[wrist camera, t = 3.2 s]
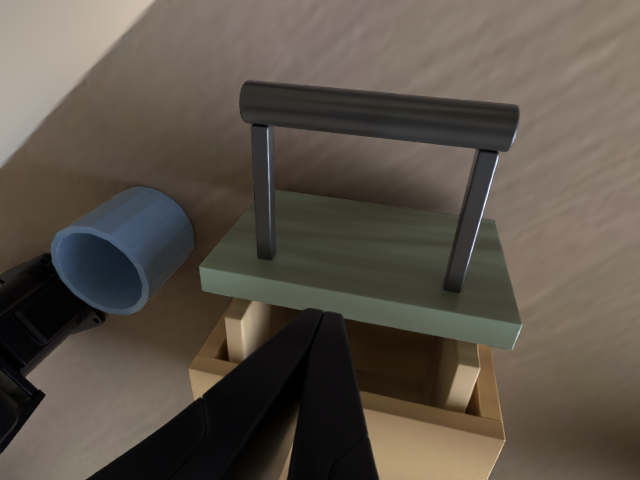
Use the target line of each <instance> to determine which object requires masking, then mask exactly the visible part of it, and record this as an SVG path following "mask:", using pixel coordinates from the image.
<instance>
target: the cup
mask: <svg viewBox="0 0 640 480" xmlns="http://www.w3.org/2000/svg"><path fill="white" fill-rule="evenodd" d="M194 241H195V238H194V231H193V227H192V224H191V222H190V220H189V218H188V217H187V215H186V213H185V212H184V211H183V209H182V208H181V207H180V206H179V205H178V204H177V203H176V202H175V201H174V200H173V199H171V198H170V197H169V196H167V195H165V194H164V193H162V192H160V191H158V190H155V189H152V188H148V187H141V186H137V187H130V188H127V189H125V190H123V191H122V192H120V193H118V194H116V195H114V196H113V197H111V198H110V199H108V200H106V201H105V202H103V203H102V204H100V205H99V206H97V207H96V208H94V209H92V210H91V211H89V212H88V213H86V214H85V215H83V216H82V217H80V218H78V219H77V220H75V221H74V222H72V223H71V224H69V225H68V226H66V227H65V228H63V229H61V230H60V231H58V232H57V233H56V235H55V237H54V239H53V241H52V243H51V246H50V247H51V257H52V263H53V265H54V267H55V269H56V271H57V273H58V275H59V277H60V278H61V280H62V281H63V282H64V283H65V284H66V286H67V287H68V288H69V289H70V290H71V291H72V292H73V293H74V294H75V295H76V296H77V297H79V298H80V299H82V300H83V301H84V302H86V303H87V304H89V305H90V306H92V307H94V308H97V309H99V310H101V311H104V312H106V313H109V314H118V315H128V314H131V313H134V312H137V311H140V310H141V309H142V308H143V307H144V306H145V304H146V303H147V302H148V301H149V300H150V299H151V298H152V297H153V296H154V295H155V294H156V292H157V291H158V290H159V289H160V288H161V287H162V286H163V285H164V284H165V283H166V282H167V280H168V279H169V278H170V277H171V276H172V275H173V274H174V273H175V272H176V271H177V270H178V268H179V267H180V266H181V265H182V264H183V263H184V262H185V260H186V259H187V258H188V257H189V256H190V254H191V253H192V250H193V248H194Z"/></svg>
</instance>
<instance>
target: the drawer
mask: <svg viewBox="0 0 640 480" xmlns="http://www.w3.org/2000/svg"><path fill="white" fill-rule="evenodd" d="M239 107H240V114H241V117H242V119H243V121H244V122H246V123H250V124H253V125H252V126H251V139H252V160H253V180H254V202H253V203H252V204H251V205H250V206H249V208H248V209H247V210H246V211H245V212H244V214H243V215H242V216H241V217H240V218H239V219H238V221H237V222H236V223H235V224H234V225H233V226H232V228H231V229H230V230H229V231H228V232H227V234H226V235H225V236H224V237H223V238H222V239H221V241H220V242H219V243H218V244H217V245H216V246H215V248H214V249H213V250H212V251H211V252H210V254H209V255H208V256H207V257H206V258H205V259H204V261H203V262H202V263H201V264H200V265H199V274H200V281H201V288H202V291H204V292H209V293H214V294H220V295H225V296H230V297H235V298H236V299H235V301H234V303H233V304H232V306H231V307H230V309H229V310H228V312H227V313H226V315H225V317H224V320H225V329H226V338H227V347H228V356H229V362H232V363H237V364H240V363H241V362H242V361H243V360H245V359H246V358H247V357H248V356H249V355H251V354H252V353H253V352H254V351H255V350H257V349H258V348H259V347H260V346H261V345H263V344H264V343H265V342H266V341H267V340H269V339H270V338H271V337H272V336H273V335H275V334H276V333H277V332H278V331H279V330H281V329H282V328H283V327H284V326H285V325H287V324H288V323H289V322H290V321H291V320H293V319H294V318H295V317H296V316H297V315H299V314H300V313H301V312H302V311H303V310H305V309H306V308H315V309H321V310H323V311H324V313H325V312H326V311H331V312H336V313H341V314H342V315H343V318H344V322H345V327H346V332H347V336H348V341H349V346H350V350H351V355H352V360H353V364H354V369H355V373H356V378H357V383H358V387H359V391H364V392H368V393H373V394H377V395H382V396H386V397H391V398H395V399H400V400H404V401H409V402H413V403H418V404H423V405H427V406H432V407H436V408H441V409H445V410H450V411H454V412H459V413H463V414H464V413H465V410H466V407H467V404H468V402H469V399H470V396H471V393H472V391H473V388H474V385H475V382H476V379H477V377H478V374H479V371H480V361H479V353H478V345H477V344H482V345H487V346H492V347H497V348H503V349H508V350H512V349H513V347H514V345H515V342H516V340H517V337H518V335H519V332H520V330H521V327H522V321H521V317H520V313H519V310H518V306H517V302H516V299H515V295H514V291H513V287H512V284H511V280H510V276H509V272H508V269H507V265H506V261H505V257H504V254H503V250H502V246H501V242H500V239H499V235H498V231H497V228H496V224H495V220H490V219H483V218H482V215H483V211H484V208H485V204H486V201H487V197H488V194H489V190H490V186H491V183H492V179H493V176H494V172H495V169H496V165H497V162H498V158H499V152H498V151H501V152H507V151H509V149H510V148H511V146H512V144H513V142H514V139H515V136H516V133H517V129H518V124H519V116H520V111H519V107H518V106H517V105H514V104H503V103H492V102H481V101H471V100H460V99H449V98H438V97H427V96H416V95H405V94H394V93H384V92H373V91H362V90H351V89H340V88H329V87H318V86H308V85H297V84H286V83H275V82H264V81H253V80H247V81H245V82H244V84H243V86H242V88H241V92H240V99H239ZM273 126H277V127H286V128H295V129H304V130H313V131H322V132H331V133H340V134H349V135H358V136H367V137H375V138H384V139H393V140H402V141H411V142H420V143H429V144H438V145H447V146H456V147H465V148H474V149H476V151H475V155H474V159H473V163H472V167H471V171H470V175H469V179H468V183H467V187H466V191H465V195H464V199H463V204H462V208H461V212H460V215H454V214H447V213H440V212H433V211H425V210H418V209H411V208H404V207H397V206H390V205H382V204H375V203H368V202H361V201H354V200H347V199H339V198H332V197H325V196H318V195H311V194H304V193H296V192H289V191H282V190H275V179H274V127H273Z"/></svg>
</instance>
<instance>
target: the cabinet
mask: <svg viewBox="0 0 640 480" xmlns="http://www.w3.org/2000/svg"><path fill="white" fill-rule="evenodd" d="M235 299H236V298H235V297H234V298H233V300H232V301H231V303H230V304H229V306H228V307H227V309H226V310H225V312H224V313H223V315H222V317H221V318H220V320H219V321H218V323H217V324H216V326H215V327H214V329H213V330H212V332H211V333H210V335H209V337H208V338H207V340H206V341H205V343H204V344H203V346H202V347H201V349H200V350H199V352H198V354H197V355H196V357H195V358H194V360H193V361H192V363H191V364H190V366H189V367H188V371H189V376H190V382H191V387H192V392H193V398H194V401H195V400H196V399H197V398H199V397H201V398H202V395H203V394H204V393H205V392H206V391H207V390H209V389H210V388H211V387H212V386H213V385H215V384H216V383H217V382H218V381H219V380H221V379H222V378H223V377H224V376H225V375H227V374H228V373H229V372H230V371H231V370H233V369H234V368H235V367H236V366H237V365H239V364H237V363H232V362H229V356H228V347H227V338H226V329H225V320H224V317H225V315H226V313H227V312H228V310H229V309H230V307H231V306H232V304H233V303H234V301H235ZM477 345H478V353H479V361H480V371H479V374H478V377H477V379H476V382H475V385H474V388H473V391H472V393H471V396H470V399H469V402H468V404H467V407H466V410H465V413H464V414H463V413H459V412H454V411H450V410H445V409H441V408H436V407H432V406H427V405H423V404H418V403H413V402H409V401H404V400H400V399H395V398H391V397H386V396H382V395H377V394H373V393H368V392H364V391H359V392H360V397H361V401H362V406H363V411H364V415H365V420H366V424H367V429H368V434H369V436H368V437H369V438H370V442H371V447H372V451H373V456H374V460H375V464H376V468H377V472H378V476H379V479H380V480H487V479H488V477H489V475H490V473H491V471H492V468H493V466H494V464H495V462H496V460H497V458H498V456H499V454H500V451H501V449H502V447H503V445H504V443H505V441H506V440H505V434H504V427H503V423H502V415H501V409H500V403H499V397H498V390H497V384H496V378H495V372H494V365H493V359H492V353H491V347H490V346H487V345H482V344H477ZM292 447H293V444H292ZM292 447H291V450H290V452H289V455H288V458H287V460H286V463H285V466H284V468H283V471H282V473H281V476H280V479H279V480H287V475H288V469H289V464H290V458H291V452H292Z"/></svg>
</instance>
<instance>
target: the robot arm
mask: <svg viewBox="0 0 640 480" xmlns="http://www.w3.org/2000/svg"><path fill="white" fill-rule="evenodd" d="M0 285H1V286H0V454H1V453H2V452H3V451H4V450H5V448H6V447H7V446H8V445H9V443H10V442H11V441H12V440H13V438H14V437H15V436H16V434H17V433H18V432H19V430H20V429H21V428H22V426H23V425H24V424H25V422H26V421H27V420H28V418H29V417H30V416H31V414H32V413H33V412H34V410H35V409H36V408H37V406H38V405H39V404H40V402H41V401H42V400H43V398H44V397H45V396H46V394H44V393H43V392H42V391H41V390H40V389H39V390H38V389H37V388H36V387H35V386H34V385H32V384H31V383H30V382H29V381H28V380H27V379H26V378H25V377H26V376H27V375H28V374H29V373H30V372H31V371H32V370H33V369H34V368H35V367H36V366H37V365H38V364H40V363H41V362H42V361H43V360H44V359H45V358H46V357H47V356H48V355H49V354H50V353H51V352H52V351H53V350H54V349H55V348H56V347H57V346H59V345H60V344H61V343H62V342H63V341H64V340H65V339H66V338H67V337H68V336H69V335H71V334H75V333H78V332H81V331H84V330H87V329H90V328H93V327H97V326H100V325H101V324H103V323H104V321H105V320H106V319H105V316H104V315H103V314H102V313H101V312H100V310H99V309H97V308H94V307H92V306H90V305H89V304H87V303H86V302H84V301H83V300H82V299H80V298H79V297H77V296H76V295H75V294H74V293H73V292H72V291H71V290H70V289H69V288H68V287H67V286H66V284H65V283H64V282H63V281H62V280H61V278H60V277H59V275H58V273H57V271H56V269H55V267H54V265H53V263H52V257H51V255H50V254H47V253H45V254H42V255H40V256H38V257H36V258H34V259H32V260H30V261H28V262H25V263H23V264H21V265H19V266H17V267H15V268H13V269H11V270H9V271H6V272H4V273H2V274H1V275H0ZM368 436H369V434H368V429H367V424H366V420H365V415H364V411H363V406H362V401H361V397H360V392H359V387H358V383H357V378H356V373H355V369H354V364H353V360H352V355H351V350H350V346H349V341H348V336H347V332H346V327H345V322H344V318H343V315H342V314H341V313H336V312H331V311H326V312H325V313H324V311H323V310H321V309H315V308H306V309H305V310H303V311H302V312H301V313H300V314H299V315H297V316H296V317H295V318H294V319H293V320H291V321H290V322H289V323H288V324H287V325H285V326H284V327H283V328H282V329H281V330H279V331H278V332H277V333H276V334H275V335H273V336H272V337H271V338H270V339H269V340H267V341H266V342H265V343H264V344H263V345H261V346H260V347H259V348H258V349H257V350H255V351H254V352H253V353H252V354H251V355H249V356H248V357H247V358H246V359H245V360H243V361H242V362H241V363H240V364H239V365H237V366H236V367H235V368H234V369H233V370H231V371H230V372H229V373H228V374H227V375H225V376H224V377H223V378H222V379H221V380H219V381H218V382H217V383H216V384H215V385H213V386H212V387H211V388H210V389H209V390H207V391H206V392H205V393H204V394H203V395H202V398H201V397H199V398H197V399H196V400H195V401H194V402H193V403H192V404H190V405H189V406H188V407H187V408H185V409H184V410H183V411H182V412H180V413H179V414H178V415H177V416H175V417H174V418H173V419H172V420H170V421H169V422H168V423H166V424H165V425H164V426H163V427H161V428H160V429H158V430H157V431H156V432H154V433H153V434H151V435H150V436H149V437H147V438H146V439H144V440H143V441H142V442H140V443H139V444H137V445H136V446H134V447H133V448H131V449H130V450H128V451H127V452H126V453H124V454H123V455H121V456H120V457H118V458H117V459H115V460H114V461H112V462H111V463H109V464H108V465H106V466H105V467H104V468H102V469H101V470H99V471H98V472H96V473H95V474H93V475H92V476H90V477H89V478H87V479H86V480H279V479H280V476H281V473H282V471H283V468H284V466H285V463H286V460H287V458H288V455H289V452H290V450H291V447H292V444H293V447H292V452H291V458H290V464H289V469H288V475H287V480H380V479H379V476H378V472H377V468H376V464H375V460H374V456H373V451H372V447H371V442H370V438H369V437H368Z"/></svg>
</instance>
